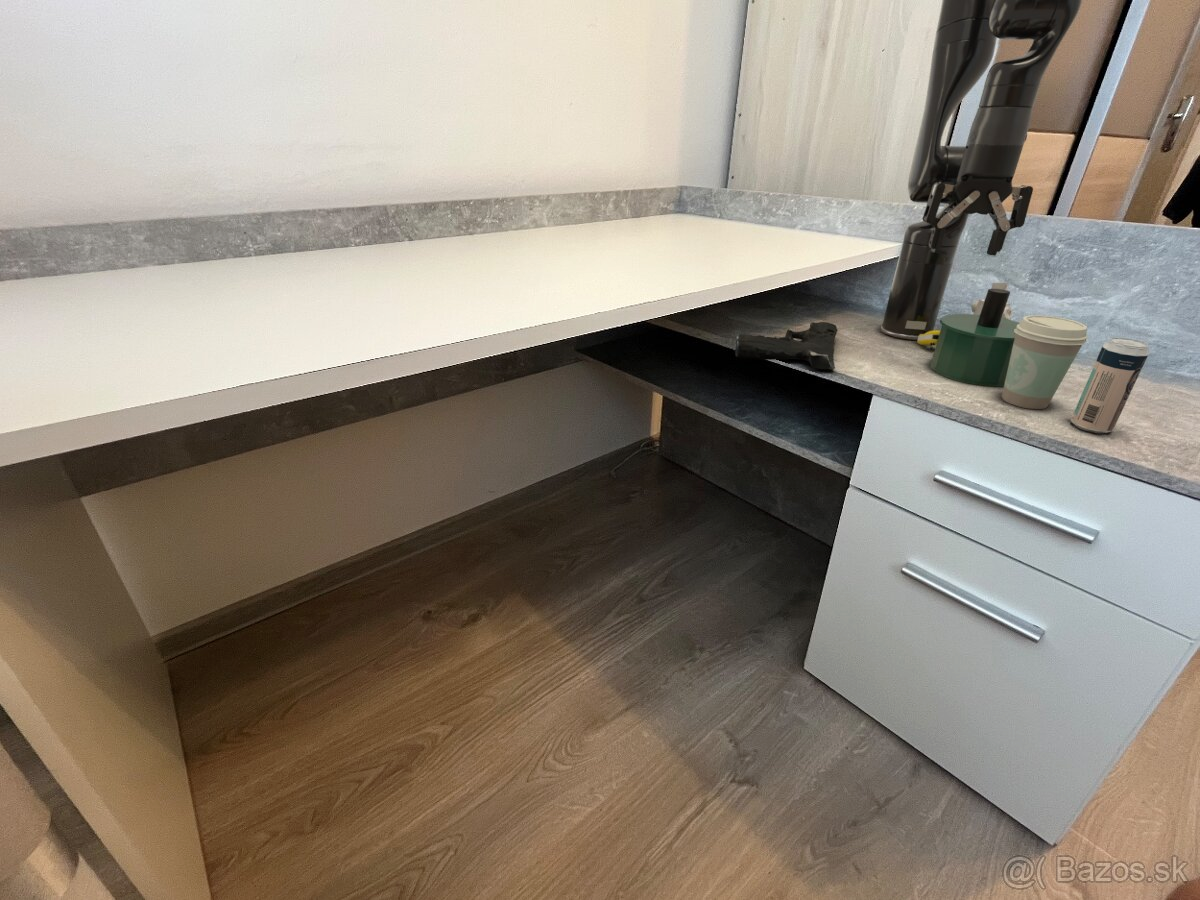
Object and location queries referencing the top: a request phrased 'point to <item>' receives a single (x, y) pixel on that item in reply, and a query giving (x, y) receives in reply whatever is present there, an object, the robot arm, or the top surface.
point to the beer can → (1110, 384)
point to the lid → (985, 319)
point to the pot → (971, 358)
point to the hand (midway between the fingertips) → (962, 253)
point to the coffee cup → (1041, 359)
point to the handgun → (792, 346)
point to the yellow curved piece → (929, 338)
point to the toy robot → (978, 305)
